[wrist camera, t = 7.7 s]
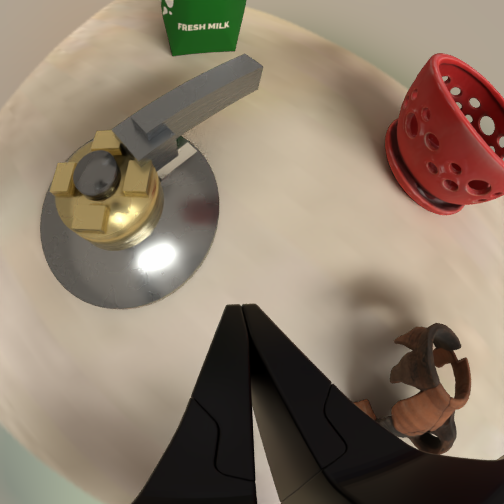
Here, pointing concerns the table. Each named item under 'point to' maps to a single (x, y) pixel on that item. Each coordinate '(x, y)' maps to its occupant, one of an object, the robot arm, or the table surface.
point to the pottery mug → (427, 389)
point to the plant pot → (447, 138)
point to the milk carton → (202, 25)
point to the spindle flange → (146, 252)
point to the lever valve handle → (146, 156)
